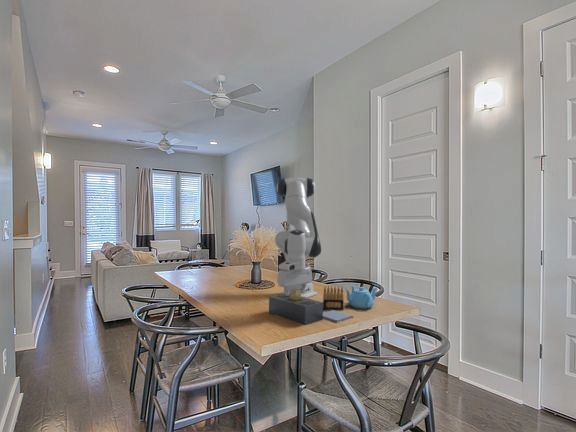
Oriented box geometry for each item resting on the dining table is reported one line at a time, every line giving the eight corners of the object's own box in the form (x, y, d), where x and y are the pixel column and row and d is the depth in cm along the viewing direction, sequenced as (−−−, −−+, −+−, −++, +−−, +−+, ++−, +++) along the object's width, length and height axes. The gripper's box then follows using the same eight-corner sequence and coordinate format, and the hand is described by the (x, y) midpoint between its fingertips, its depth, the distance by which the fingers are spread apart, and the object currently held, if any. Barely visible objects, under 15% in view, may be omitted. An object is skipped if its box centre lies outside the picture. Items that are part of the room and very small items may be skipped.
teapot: (370, 311, 164) (371, 291, 164) (342, 307, 171) (342, 287, 171) (377, 305, 177) (377, 286, 177) (350, 301, 184) (351, 283, 184)
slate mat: (332, 312, 162) (332, 309, 162) (353, 317, 153) (353, 315, 153) (317, 316, 153) (317, 314, 153) (337, 322, 145) (337, 320, 145)
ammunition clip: (322, 309, 166) (323, 286, 166) (322, 308, 167) (323, 285, 168) (343, 310, 166) (344, 286, 166) (343, 309, 168) (343, 285, 168)
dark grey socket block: (286, 308, 165) (286, 292, 166) (322, 319, 148) (323, 302, 148) (268, 313, 157) (269, 296, 157) (304, 325, 140) (305, 306, 140)
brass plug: (295, 305, 156) (295, 288, 156) (301, 307, 153) (301, 290, 153) (289, 306, 153) (289, 289, 153) (295, 308, 150) (295, 291, 150)
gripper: (306, 262, 162) (305, 290, 162) (275, 265, 148) (275, 295, 148) (315, 264, 158) (314, 292, 158) (285, 267, 144) (284, 298, 143)
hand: (295, 294), depth 153 cm, fingers open, 8 cm apart
